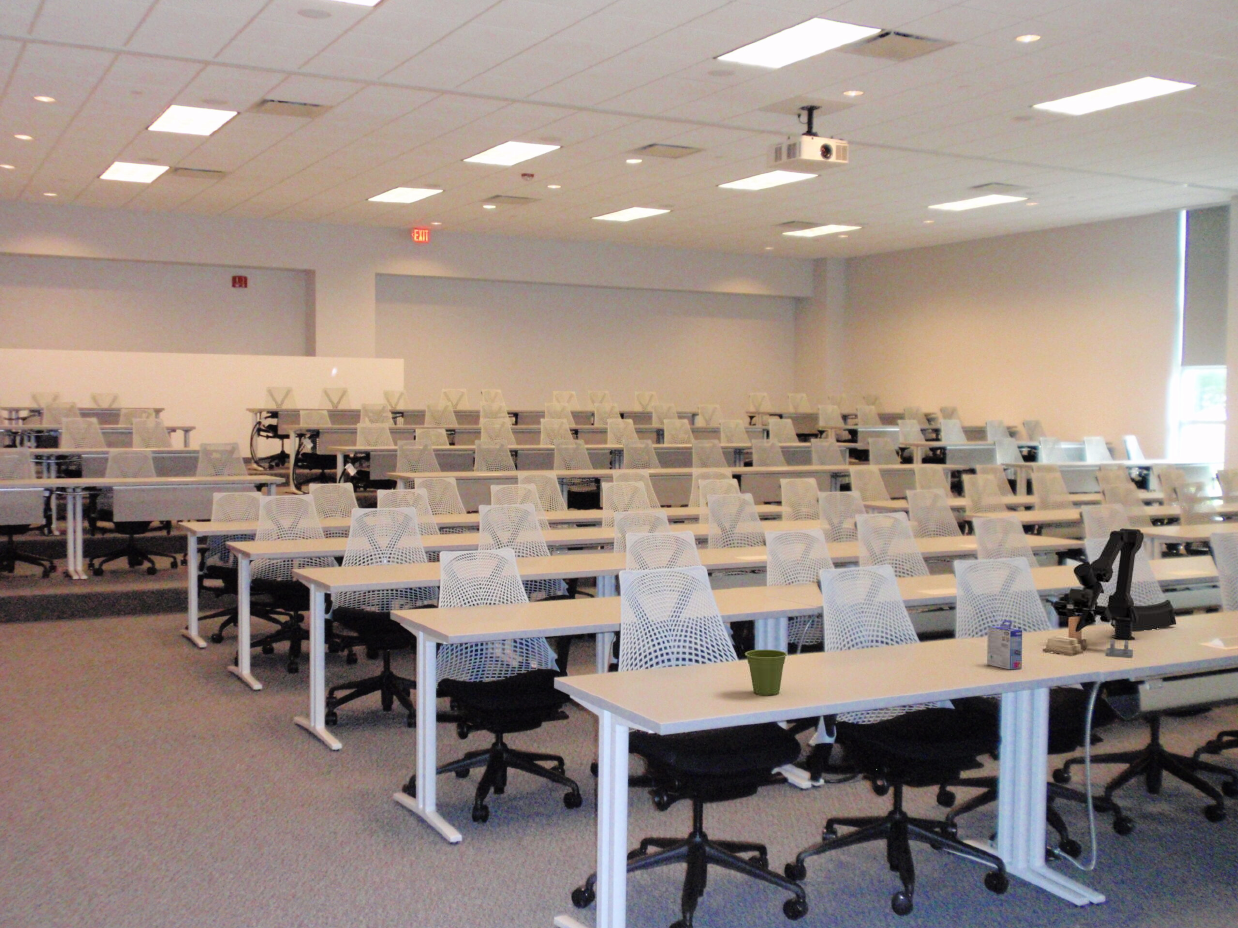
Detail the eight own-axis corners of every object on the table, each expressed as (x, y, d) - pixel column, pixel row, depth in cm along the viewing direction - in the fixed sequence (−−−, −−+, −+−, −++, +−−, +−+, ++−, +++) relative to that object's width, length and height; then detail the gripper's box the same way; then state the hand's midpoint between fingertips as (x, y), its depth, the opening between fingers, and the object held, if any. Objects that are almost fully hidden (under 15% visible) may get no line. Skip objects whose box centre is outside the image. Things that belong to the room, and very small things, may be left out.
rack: (1065, 646, 390) (1065, 633, 390) (1093, 650, 383) (1093, 636, 383) (1042, 651, 381) (1042, 638, 381) (1071, 655, 373) (1071, 641, 373)
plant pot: (744, 688, 326) (744, 649, 326) (786, 688, 325) (786, 649, 325) (745, 697, 315) (745, 656, 314) (788, 698, 314) (788, 657, 313)
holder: (1106, 650, 382) (1107, 638, 382) (1133, 652, 379) (1133, 640, 379) (1105, 655, 373) (1105, 643, 373) (1132, 657, 370) (1132, 645, 370)
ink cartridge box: (1023, 668, 353) (1023, 622, 353) (1010, 670, 350) (1010, 623, 350) (999, 663, 362) (999, 617, 361) (986, 664, 359) (986, 619, 359)
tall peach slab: (1075, 648, 387) (1076, 616, 387) (1081, 649, 385) (1081, 616, 385) (1068, 650, 384) (1068, 617, 383) (1074, 650, 382) (1074, 618, 382)
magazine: (1174, 602, 433) (1118, 583, 421) (1181, 603, 430) (1126, 584, 418) (1164, 646, 431) (1108, 628, 419) (1171, 647, 428) (1115, 630, 416)
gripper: (1055, 577, 394) (1038, 612, 387) (1107, 582, 379) (1091, 618, 373) (1066, 597, 399) (1050, 632, 392) (1119, 603, 385) (1102, 639, 378)
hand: (1073, 630), depth 384 cm, fingers closed on tall peach slab, 2 cm apart
